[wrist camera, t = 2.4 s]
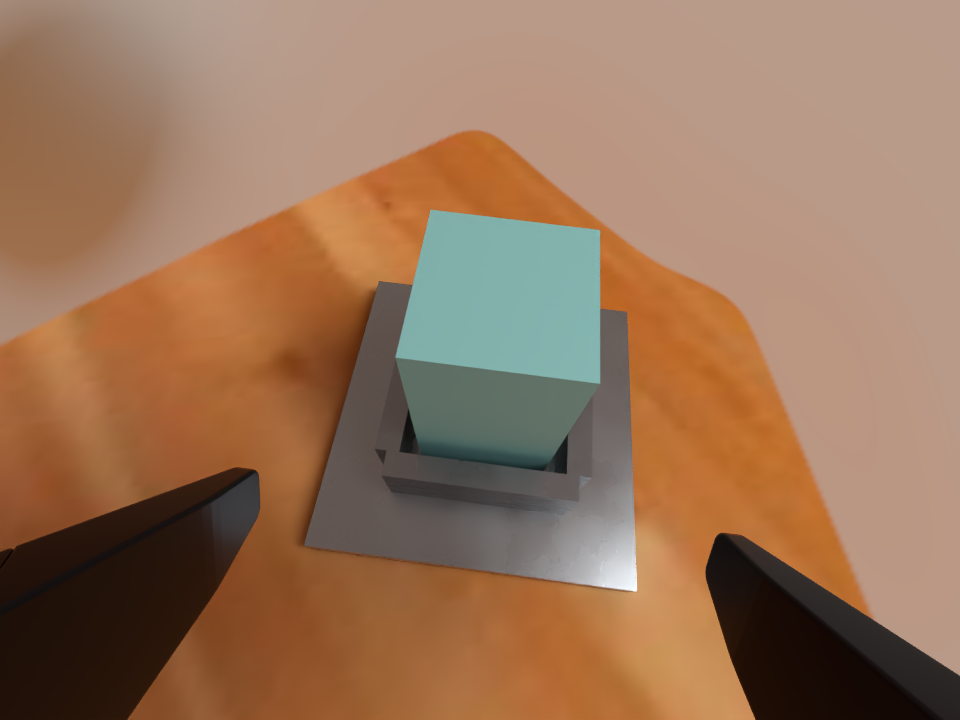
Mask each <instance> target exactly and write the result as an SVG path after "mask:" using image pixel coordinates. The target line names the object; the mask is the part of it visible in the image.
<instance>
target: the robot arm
mask: <svg viewBox="0 0 960 720" xmlns="http://www.w3.org/2000/svg"><path fill="white" fill-rule="evenodd" d="M259 510H260V489H259V475H258V472H257V471H256V470H253V469H246V468H239V467H236V468H232V469H229V470H226V471H224V472H221V473H218V474H215V475H212V476H210V477H207V478H204V479H201V480H199V481H196V482H193V483H190V484H187V485H185V486H182V487H179V488H176V489H174V490H171V491H168V492H165V493H162V494H160V495H157V496H154V497H151V498H149V499H146V500H143V501H140V502H137V503H135V504H132V505H129V506H126V507H124V508H121V509H118V510H115V511H112V512H110V513H107V514H104V515H101V516H99V517H96V518H93V519H90V520H87V521H85V522H82V523H79V524H76V525H74V526H71V527H68V528H65V529H62V530H60V531H57V532H54V533H51V534H49V535H46V536H43V537H40V538H37V539H35V540H32V541H29V542H26V543H24V544H21V545H18V546H16V547H15V549H14V550H13V549H11V548H10V549H6V550H4V551H1V552H0V720H127V719H128V718H129V716H130V715H131V713H132V712H133V710H134V709H135V708H136V706H137V705H138V703H139V702H140V700H141V699H142V697H143V696H144V695H145V693H146V692H147V690H148V689H149V687H150V686H151V685H152V683H153V682H154V680H155V679H156V677H157V676H158V674H159V673H160V672H161V670H162V669H163V667H164V666H165V664H166V663H167V661H168V660H169V659H170V657H171V656H172V654H173V653H174V651H175V650H176V648H177V647H178V646H179V644H180V643H181V641H182V640H183V638H184V637H185V635H186V634H187V633H188V631H189V630H190V628H191V627H192V625H193V624H194V622H195V621H196V620H197V618H198V617H199V615H200V614H201V612H202V611H203V609H204V608H205V607H206V605H207V604H208V602H209V601H210V599H211V598H212V596H213V595H214V593H215V592H216V590H217V589H218V587H219V585H220V584H221V582H222V580H223V579H224V577H225V575H226V573H227V571H228V570H229V568H230V566H231V564H232V562H233V561H234V559H235V557H236V555H237V553H238V552H239V550H240V548H241V546H242V544H243V543H244V541H245V539H246V537H247V535H248V534H249V532H250V530H251V528H252V526H253V525H254V523H255V521H256V519H257V517H258V514H259ZM706 580H707V584H708V587H709V591H710V594H711V597H712V600H713V604H714V607H715V610H716V613H717V617H718V620H719V623H720V626H721V630H722V633H723V636H724V639H725V643H726V646H727V649H728V652H729V655H730V658H731V661H732V663H733V666H734V668H735V671H736V674H737V676H738V679H739V681H740V683H741V686H742V688H743V691H744V693H745V695H746V698H747V700H748V703H749V705H750V707H751V710H752V712H753V715H754V717H755V719H756V720H960V676H959V675H958V674H956V673H955V672H953V671H951V670H950V669H948V668H947V667H945V666H944V665H942V664H941V663H939V662H938V661H936V660H934V659H933V658H931V657H930V656H928V655H927V654H925V653H924V652H922V651H920V650H919V649H917V648H916V647H914V646H913V645H911V644H910V643H908V642H906V641H905V640H904V639H902V638H900V637H899V636H897V635H896V634H894V633H893V632H891V631H890V630H888V629H886V628H885V627H883V626H882V625H880V624H879V623H877V622H876V621H874V620H873V619H871V618H869V617H868V616H866V615H865V614H863V613H862V612H860V611H859V610H857V609H855V608H854V607H852V606H851V605H849V604H848V603H846V602H845V601H843V600H842V599H840V598H838V597H837V596H835V595H834V594H832V593H831V592H829V591H828V590H826V589H825V588H823V587H821V586H820V585H818V584H817V583H815V582H814V581H812V580H811V579H809V578H807V577H806V576H804V575H803V574H801V573H800V572H798V571H797V570H795V569H794V568H792V567H790V566H789V565H787V564H786V563H784V562H783V561H781V560H780V559H778V558H776V557H775V556H773V555H772V554H770V553H769V552H767V551H766V550H764V549H763V548H761V547H759V546H758V545H756V544H755V543H753V542H752V541H750V540H749V539H747V538H746V537H744V536H741V535H737V534H729V533H720V534H718V535H717V536H716V538H715V540H714V544H713V547H712V550H711V553H710V556H709V559H708V562H707V565H706Z"/></svg>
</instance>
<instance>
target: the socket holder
mask: <svg viewBox="0 0 960 720" xmlns="http://www.w3.org/2000/svg"><path fill="white" fill-rule="evenodd" d="M412 286H413V285H406V284H398V283H390V282H382V281H379V283H378V287H377V290H376V294H375V297H374V301H373V304H372V308H371V311H370V315H369V319H368V322H367V326H366V329H365V333H364V336H363V340H362V343H361V347H360V350H359V354H358V357H357V361H356V364H355V368H354V371H353V375H352V378H351V382H350V385H349V389H348V392H347V396H346V399H345V403H344V406H343V410H342V413H341V417H340V420H339V424H338V427H337V431H336V434H335V438H334V441H333V445H332V448H331V452H330V455H329V459H328V462H327V466H326V469H325V473H324V476H323V480H322V483H321V487H320V490H319V494H318V497H317V501H316V504H315V508H314V511H313V515H312V518H311V522H310V525H309V529H308V532H307V536H306V539H305V543H304V546H306V547H309V548H312V549H319V550H326V551H333V552H340V553H348V554H355V555H362V556H369V557H377V558H384V559H391V560H398V561H405V562H413V563H420V564H427V565H434V566H442V567H449V568H456V569H463V570H471V571H478V572H485V573H492V574H500V575H507V576H514V577H521V578H528V579H536V580H543V581H550V582H557V583H565V584H572V585H579V586H586V587H594V588H601V589H608V590H615V591H622V592H637V580H636V552H635V523H634V495H633V467H632V438H631V410H630V382H629V354H628V325H627V312H623V311H615V310H607V309H600V385H599V386H598V388H597V389H596V391H595V393H594V394H593V396H592V397H591V399H590V400H589V402H588V403H587V405H586V406H585V408H584V410H583V411H582V413H581V414H580V416H579V417H578V419H577V420H576V422H575V423H574V425H573V427H572V428H571V430H570V431H569V433H568V434H567V436H566V437H565V439H564V441H563V442H562V444H561V445H560V447H559V448H558V450H557V451H556V453H555V454H554V456H553V458H552V459H551V461H550V462H549V464H548V465H547V467H546V468H545V470H544V471H538V470H530V469H523V468H515V467H508V466H500V465H493V464H485V463H478V462H470V461H463V460H455V459H448V458H440V457H433V456H425V455H421V453H420V450H419V446H418V442H417V438H416V434H415V431H414V427H413V423H412V419H411V415H410V411H409V408H408V404H407V400H406V396H405V392H404V388H403V385H402V381H401V377H400V373H399V369H398V366H397V362H396V358H395V357H396V353H397V349H398V345H399V340H400V336H401V332H402V328H403V324H404V320H405V315H406V311H407V307H408V303H409V299H410V295H411V290H412Z"/></svg>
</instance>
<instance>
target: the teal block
mask: <svg viewBox="0 0 960 720" xmlns="http://www.w3.org/2000/svg"><path fill="white" fill-rule="evenodd" d="M395 358H396V362H397V366H398V369H399V373H400V377H401V381H402V385H403V388H404V392H405V396H406V400H407V404H408V408H409V411H410V415H411V419H412V423H413V427H414V431H415V434H416V438H417V442H418V446H419V450H420V453H421V455H425V456H433V457H440V458H448V459H455V460H463V461H470V462H478V463H485V464H493V465H500V466H508V467H515V468H523V469H530V470H538V471H544V470H545V468H546V467H547V465H548V464H549V462H550V461H551V459H552V458H553V456H554V454H555V453H556V451H557V450H558V448H559V447H560V445H561V444H562V442H563V441H564V439H565V437H566V436H567V434H568V433H569V431H570V430H571V428H572V427H573V425H574V423H575V422H576V420H577V419H578V417H579V416H580V414H581V413H582V411H583V410H584V408H585V406H586V405H587V403H588V402H589V400H590V399H591V397H592V396H593V394H594V393H595V391H596V389H597V388H598V386H599V385H600V230H594V229H586V228H578V227H569V226H561V225H553V224H545V223H536V222H528V221H520V220H511V219H503V218H495V217H487V216H478V215H470V214H462V213H453V212H445V211H437V210H431V211H430V216H429V220H428V224H427V228H426V232H425V236H424V241H423V245H422V249H421V253H420V257H419V261H418V265H417V270H416V274H415V278H414V282H413V286H412V290H411V295H410V299H409V303H408V307H407V311H406V315H405V320H404V324H403V328H402V332H401V336H400V340H399V345H398V349H397V353H396V357H395Z"/></svg>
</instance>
